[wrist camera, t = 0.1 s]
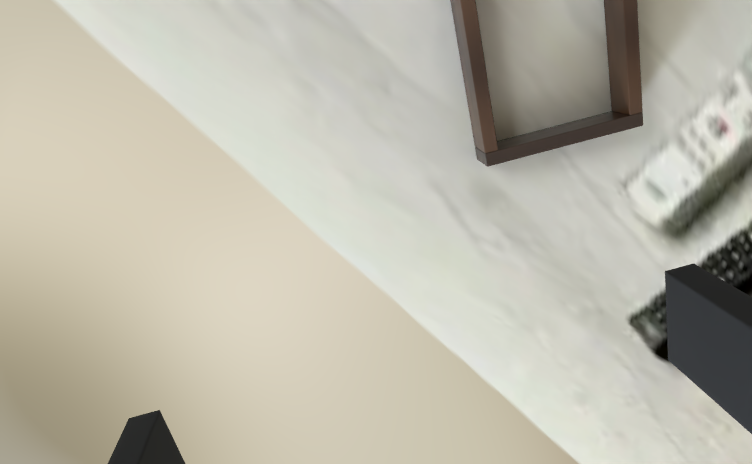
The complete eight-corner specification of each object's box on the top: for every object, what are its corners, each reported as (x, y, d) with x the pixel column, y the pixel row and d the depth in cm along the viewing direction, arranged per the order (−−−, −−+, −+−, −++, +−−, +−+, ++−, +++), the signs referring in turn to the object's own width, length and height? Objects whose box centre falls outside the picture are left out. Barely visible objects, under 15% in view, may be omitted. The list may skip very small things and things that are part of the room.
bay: (443, -38, 36) (453, -43, 34) (612, -80, 36) (633, -88, 34) (476, 159, 41) (487, 166, 39) (624, 120, 41) (643, 125, 39)
